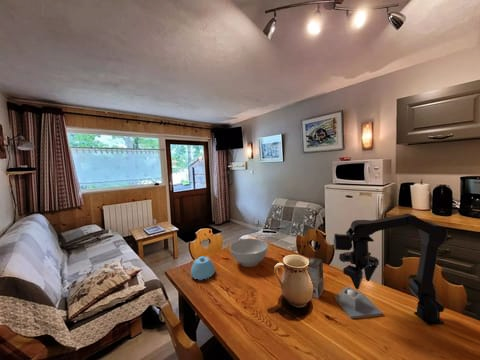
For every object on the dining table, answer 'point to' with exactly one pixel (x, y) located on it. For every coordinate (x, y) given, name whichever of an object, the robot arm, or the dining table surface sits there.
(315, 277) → the coffee box
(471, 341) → the dining table surface
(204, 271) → the light blue dome
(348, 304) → the collar
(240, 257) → the decorative bowl
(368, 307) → the duct plate
